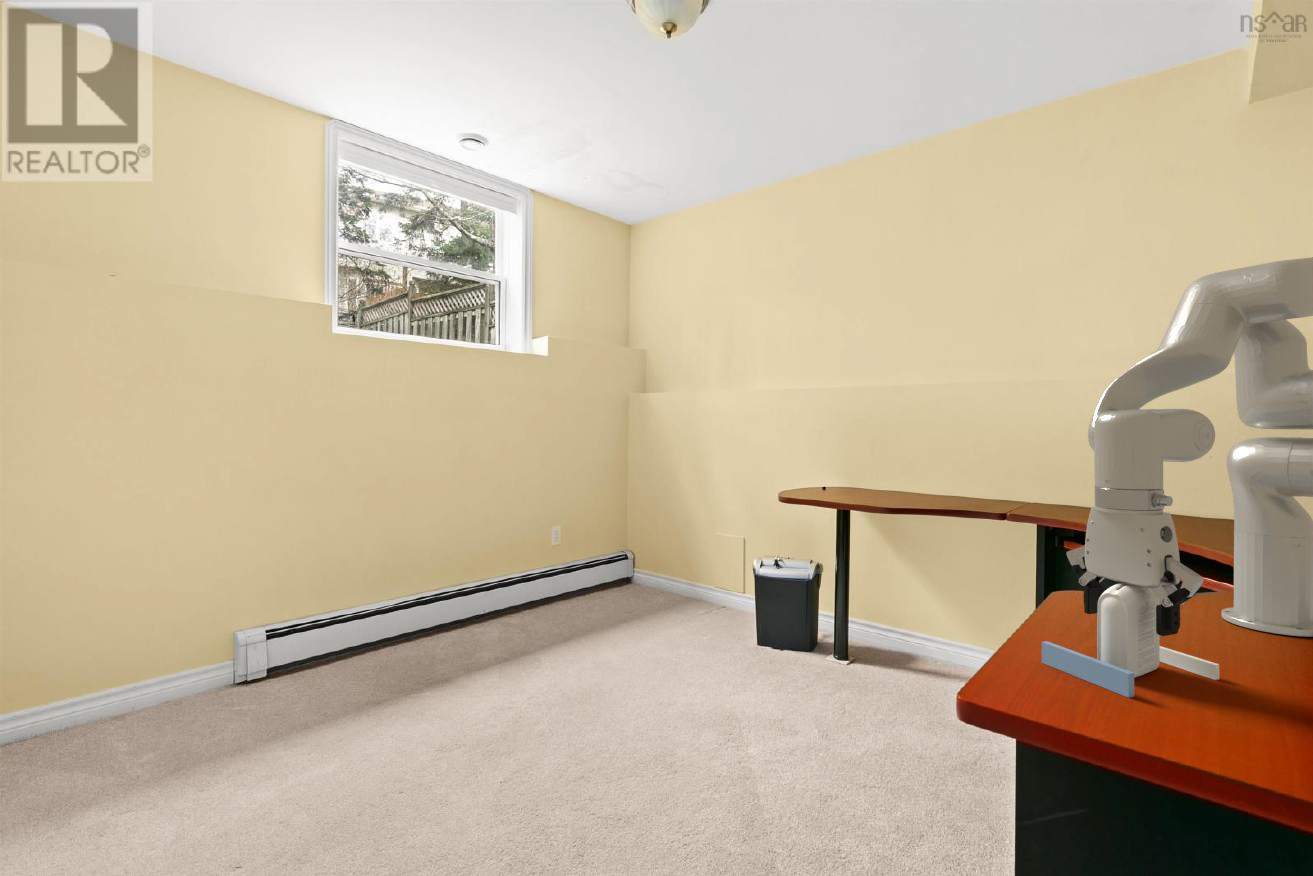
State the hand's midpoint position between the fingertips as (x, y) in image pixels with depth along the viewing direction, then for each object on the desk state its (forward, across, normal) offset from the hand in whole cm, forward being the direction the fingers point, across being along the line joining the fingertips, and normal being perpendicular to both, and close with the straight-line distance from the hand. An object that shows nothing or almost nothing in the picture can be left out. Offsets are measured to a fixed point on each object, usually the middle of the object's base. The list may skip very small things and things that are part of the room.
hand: (1128, 623), depth 84 cm
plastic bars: (+7, 0, 0) cm, 7 cm away
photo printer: (+7, 0, 0) cm, 7 cm away
